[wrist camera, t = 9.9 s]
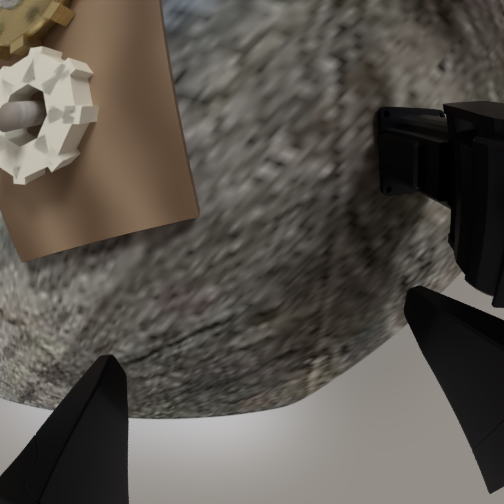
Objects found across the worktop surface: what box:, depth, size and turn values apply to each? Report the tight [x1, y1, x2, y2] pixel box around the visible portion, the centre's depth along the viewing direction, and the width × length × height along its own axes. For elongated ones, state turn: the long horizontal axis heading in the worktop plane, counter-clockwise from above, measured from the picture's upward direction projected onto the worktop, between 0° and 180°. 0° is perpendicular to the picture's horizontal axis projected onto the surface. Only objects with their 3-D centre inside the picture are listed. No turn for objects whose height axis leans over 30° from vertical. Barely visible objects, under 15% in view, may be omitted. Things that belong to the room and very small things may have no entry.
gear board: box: [0, 0, 200, 263], centre depth 10 cm, size 14×22×6 cm, turn 9°
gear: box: [0, 0, 76, 60], centre depth 6 cm, size 8×8×4 cm
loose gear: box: [0, 46, 99, 185], centre depth 11 cm, size 7×7×2 cm
